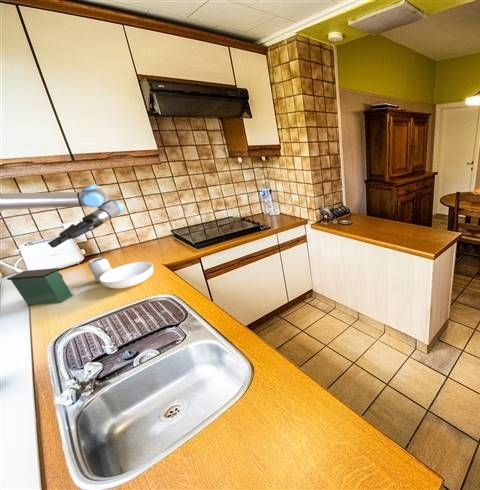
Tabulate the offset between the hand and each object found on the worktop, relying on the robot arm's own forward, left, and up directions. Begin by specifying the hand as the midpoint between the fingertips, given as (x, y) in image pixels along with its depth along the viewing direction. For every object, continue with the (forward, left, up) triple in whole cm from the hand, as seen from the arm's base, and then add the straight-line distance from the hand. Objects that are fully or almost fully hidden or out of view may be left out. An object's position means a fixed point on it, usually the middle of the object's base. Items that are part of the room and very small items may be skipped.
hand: (51, 245), depth 130 cm
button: (+3, -9, -16) cm, 18 cm away
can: (+15, +2, -22) cm, 27 cm away
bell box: (+3, -15, -22) cm, 27 cm away
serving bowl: (+32, -4, -22) cm, 39 cm away
